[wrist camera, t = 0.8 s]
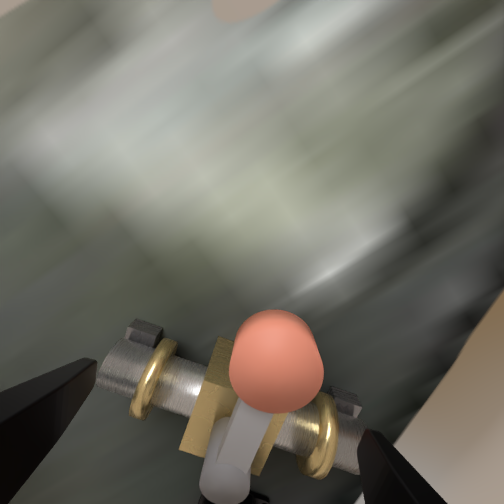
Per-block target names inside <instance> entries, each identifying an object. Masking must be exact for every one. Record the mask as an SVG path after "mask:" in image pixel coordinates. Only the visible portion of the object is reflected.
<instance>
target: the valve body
mask: <svg viewBox="0 0 504 504" xmlns="http://www.w3.org/2000/svg"><path fill="white" fill-rule="evenodd" d="M161 332H162V327H159V326H156V325H153V324H150V323H147V322H144V321H142V320H139V319H135V320H134V321H133V322H132V323H131V324H130V325H129V326H128V328H127V332H126V335H125V338H121V339H120V340H119V341H117V342H116V344H115V345H114V346H113V347H112V349H111V350H110V351H109V353H108V355H107V356H106V358H105V360H104V362H103V364H102V366H101V368H100V371H99V373H98V376H97V381H96V385H97V387H99V388H102V389H105V390H108V391H111V392H114V393H117V394H120V395H123V396H126V397H129V398H132V402H131V405H130V409H129V416H131V417H134V418H137V419H140V420H143V421H144V420H145V419H146V418H147V417H148V415H149V414H150V412H151V410H152V408H153V406H155V407H158V408H161V409H164V410H167V411H170V412H173V413H176V414H179V415H182V416H185V417H188V418H189V421H188V424H187V427H186V430H185V433H184V436H183V439H182V442H181V445H180V447H179V450H182V451H185V452H188V453H191V454H194V455H197V456H200V457H203V458H205V456H206V451H207V447H208V443H209V438H210V434H211V430H212V427H213V425H214V424H215V422H216V421H218V420H219V419H221V418H224V417H231V415H232V413H233V410H234V408H235V405H236V403H237V400H238V398H239V396H238V395H237V394H236V392H235V391H234V389H233V387H232V385H231V382H230V377H229V366H230V360H231V356H232V351H233V346H234V341H231V340H228V339H225V338H222V337H220V336H218V339H217V342H216V345H215V347H214V350H213V353H212V356H211V358H210V361H209V364H208V367H207V366H204V365H201V364H198V363H195V362H192V361H189V360H186V359H184V358H181V357H178V356H175V354H176V350H177V346H178V342H176V341H173V340H170V339H167V338H163V339H162V340H161V342H160V343H159V344H158V342H159V338H160V335H161ZM157 345H158V346H157ZM361 409H362V406H361V404H360V401H359V399H358V397H357V395H355V394H353V393H350V392H347V391H344V390H341V389H338V388H335V387H332V386H331V387H330V389H329V391H328V393H324V392H321V391H319V392H318V393H317V395H316V396H315V397H314V398H313V399H312V400H311V401H310V402H309V403H308V404H307V405H305V406H304V407H302V408H300V409H298V410H295V411H292V412H288V413H280V414H273V417H272V419H271V421H270V423H269V426H268V428H267V430H266V432H265V435H264V437H263V439H262V441H261V444H260V446H259V448H258V450H257V452H256V455H255V457H254V459H253V461H252V464H251V474H254V475H257V476H259V475H260V473H261V471H262V469H263V466H264V464H265V462H266V460H267V458H268V456H269V453H270V451H271V449H272V447H273V446H274V447H276V448H279V449H282V450H285V451H288V452H291V453H294V454H296V460H297V465H298V468H299V470H300V471H301V473H302V474H304V475H306V476H309V477H312V478H315V479H318V480H320V479H323V478H324V477H326V475H327V474H328V473H329V471H330V469H331V467H332V466H333V467H336V468H339V469H342V470H344V471H347V472H350V473H353V474H356V475H360V471H359V465H358V459H357V447H358V444H359V442H360V440H361V438H362V435H363V433H364V431H365V430H366V429H368V428H367V426H366V424H365V423H364V422H363V421H362V420H361V419H358V418H357V416H358V414H359V413H360V411H361Z"/></svg>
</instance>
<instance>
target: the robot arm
mask: <svg viewBox="0 0 504 504" xmlns="http://www.w3.org/2000/svg"><path fill="white" fill-rule="evenodd" d="M96 373H97V361H96V360H93V359H89V358H82V359H79V360H77V361H74V362H72V363H69V364H67V365H65V366H62V367H60V368H57V369H55V370H53V371H50V372H48V373H45V374H43V375H40V376H38V377H36V378H33V379H31V380H28V381H26V382H24V383H21V384H19V385H16V386H14V387H11V388H9V389H7V390H4V391H2V392H0V504H8V503H9V502H10V501H11V499H12V498H13V497H14V496H15V494H16V493H17V492H18V490H19V489H20V488H21V487H22V485H23V484H24V483H25V482H26V480H27V479H28V478H29V477H30V475H31V474H32V473H33V472H34V470H35V469H36V468H37V466H38V465H39V464H40V463H41V461H42V460H43V459H44V458H45V456H46V455H47V454H48V453H49V451H50V450H51V449H52V448H53V446H54V445H55V444H56V442H57V441H58V440H59V438H60V437H61V435H62V434H63V433H64V431H65V430H66V428H67V427H68V425H69V424H70V422H71V421H72V419H73V418H74V416H75V415H76V413H77V412H78V410H79V408H80V407H81V405H82V404H83V402H84V401H85V399H86V398H87V396H88V395H89V393H90V392H91V390H92V389H93V387H94V384H95V381H96ZM357 459H358V465H359V471H360V477H361V482H362V488H363V494H364V500H365V504H447V503H446V502H445V501H444V500H443V498H442V497H441V496H440V495H439V494H438V493H437V492H436V491H435V490H434V489H433V488H432V487H431V486H430V484H428V483H427V481H426V480H425V479H424V478H423V477H422V476H421V475H420V474H419V473H418V472H417V471H416V470H415V469H414V468H413V466H412V465H411V464H410V463H409V462H408V461H407V460H406V459H405V458H404V457H403V456H402V455H401V454H400V453H399V451H398V450H397V449H396V448H395V447H394V446H393V445H392V444H391V443H390V442H389V441H388V440H387V439H386V438H385V437H384V436H383V434H382V433H381V432H379V431H376V430H372V429H366V430H365V431H364V433H363V435H362V438H361V440H360V442H359V444H358V447H357ZM198 504H215V503H213V502H211V501H209V500H208V499H207V498H206V497H205V496H204V495H203V494H202V495H201V497H200V500H199V502H198ZM238 504H269V498H268V497H266V496H263V495H260V494H257V493H254V492H251V491H249V494H248V496H247V497H246V499H244V500H243V501H242V502H240V503H238Z"/></svg>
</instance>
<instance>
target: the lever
mask: <svg viewBox="0 0 504 504" xmlns="http://www.w3.org/2000/svg"><path fill="white" fill-rule="evenodd" d="M323 376H324V369H323V364H322V360H321V357H320V354H319V351H318V348H317V345H316V343H315V340H314V337H313V334H312V332H311V330H310V328H309V327H308V325H307V324H306V323H305V322H304V321H303V320H302V319H301V318H299V317H298V316H296V315H294V314H292V313H290V312H287V311H283V310H265V311H261V312H258V313H256V314H254V315H252V316H251V317H249V318H248V319H247V320H246V321H244V323H243V324H242V325H241V326H240V328H239V329H238V332H237V334H236V337H235V341H234V346H233V351H232V356H231V360H230V366H229V377H230V382H231V385H232V387H233V389H234V391H235V392H236V394H237V395H238V396H239V398H238V400H237V403H236V405H235V408H234V410H233V413H232V415H231V417H224V418H221V419H219V420H218V421H216V422H215V424H214V425H213V427H212V430H211V434H210V438H209V443H208V447H207V451H206V456H205V460H204V464H203V468H202V473H201V477H200V482H199V486H200V490H201V492H202V494H203V495H204V496H205V497H206V498H207V499H208V500H209V501H211V502H213V503H215V504H238V503H240V502H242V501H243V500H244V499H246V497H247V496H248V494H249V491H250V475H251V464H252V461H253V459H254V457H255V455H256V452H257V450H258V448H259V446H260V444H261V441H262V439H263V437H264V435H265V432H266V430H267V428H268V426H269V423H270V421H271V419H272V417H273V414H280V413H288V412H292V411H295V410H298V409H300V408H302V407H304V406H305V405H307V404H308V403H309V402H310V401H311V400H312V399H313V398H314V397H315V396H316V395H317V393H318V392H319V390H320V388H321V385H322V382H323Z"/></svg>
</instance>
